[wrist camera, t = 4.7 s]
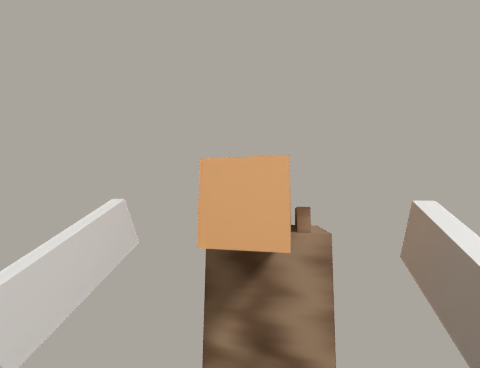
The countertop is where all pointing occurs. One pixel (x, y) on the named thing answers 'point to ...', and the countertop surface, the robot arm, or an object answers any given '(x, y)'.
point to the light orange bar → (245, 204)
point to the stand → (272, 304)
